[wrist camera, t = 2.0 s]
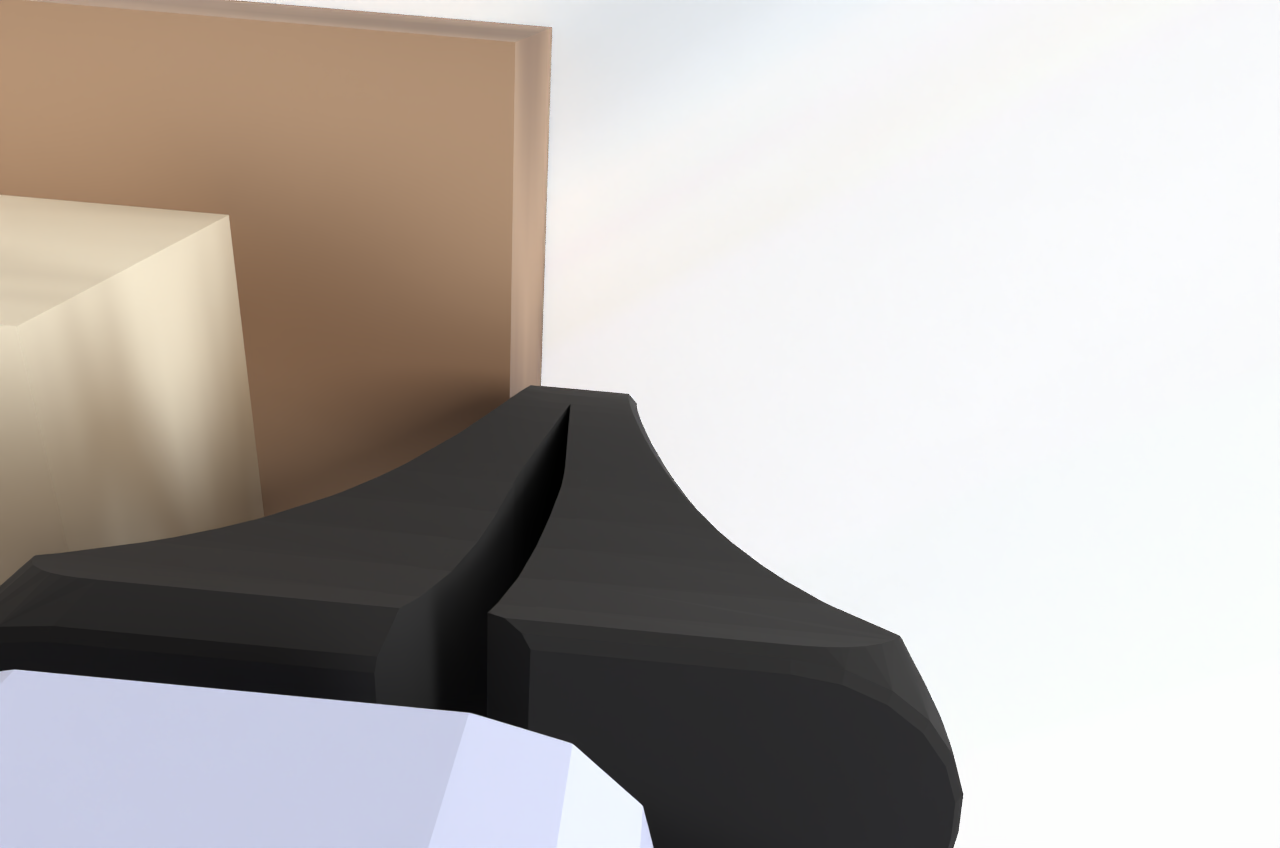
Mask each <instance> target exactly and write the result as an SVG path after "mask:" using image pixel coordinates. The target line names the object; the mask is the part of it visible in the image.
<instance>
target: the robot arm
mask: <svg viewBox="0 0 1280 848" xmlns="http://www.w3.org/2000/svg"><path fill="white" fill-rule="evenodd" d="M962 799H963V792H962V788H961V784H960V780H959V775H958V771H957V767H956V763H955V759H954V755H953V752H952V748H951V745H950V742H949V739H948V736H947V733H946V731H945V728H944V725H943V722H942V720H941V717H940V715H939V713H938V710H937V708H936V706H935V704H934V702H933V700H932V698H931V696H930V693H929V691H928V689H927V687H926V685H925V683H924V681H923V679H922V677H921V675H920V673H919V671H918V670H917V668H916V666H915V664H914V662H913V660H912V658H911V656H910V654H909V652H908V650H907V648H906V646H905V644H904V642H903V640H902V639H901V637H900V636H899V635H897V634H894V633H892V632H890V631H887V630H885V629H883V628H881V627H878V626H876V625H874V624H871V623H869V622H867V621H865V620H862V619H860V618H858V617H855V616H853V615H851V614H848V613H846V612H844V611H842V610H839V609H837V608H835V607H832V606H830V605H828V604H826V603H824V602H822V601H820V600H818V599H817V598H815V597H813V596H811V595H810V594H808V593H806V592H804V591H803V590H801V589H799V588H797V587H796V586H794V585H792V584H790V583H788V582H787V581H785V580H783V579H782V578H780V577H779V576H777V575H776V574H774V573H773V572H771V571H770V570H768V569H767V568H765V567H763V566H762V565H761V564H759V563H758V562H757V561H755V560H754V559H753V558H751V557H750V556H749V555H747V554H746V553H745V552H743V551H742V550H741V549H740V548H738V547H737V546H736V545H734V544H733V543H732V542H730V541H729V540H728V539H727V538H726V537H725V536H724V535H722V534H721V533H720V532H719V531H718V530H717V529H716V528H715V527H714V526H713V525H712V524H711V523H710V522H709V521H708V520H707V519H706V518H705V517H704V516H703V515H702V514H701V513H700V512H699V511H698V510H697V509H696V508H695V507H694V506H693V504H692V503H691V502H690V501H689V500H688V498H687V497H686V496H685V494H684V493H683V492H682V490H681V489H680V488H679V486H678V485H677V484H676V482H675V481H674V479H673V478H672V477H671V475H670V474H669V472H668V471H667V469H666V467H665V466H664V464H663V462H662V461H661V459H660V457H659V456H658V454H657V452H656V451H655V449H654V447H653V445H652V444H651V442H650V440H649V438H648V436H647V434H646V431H645V429H644V427H643V425H642V422H641V420H640V417H639V414H638V411H637V403H636V402H635V401H634V400H633V399H632V397H631V396H630V395H629V394H623V393H612V392H601V391H590V390H579V389H568V388H557V387H546V386H534V385H530V386H528V387H526V388H525V389H523V390H522V391H520V392H519V393H517V394H516V395H514V396H513V397H511V398H510V399H508V400H507V401H506V402H504V403H503V404H501V405H500V406H498V407H497V408H496V409H494V410H493V411H491V412H490V413H488V414H487V415H485V416H484V417H482V418H481V419H479V420H478V421H476V422H475V423H473V424H472V425H470V426H469V427H467V428H466V429H464V430H463V431H461V432H460V433H458V434H457V435H455V436H453V437H451V438H450V439H448V440H446V441H444V442H443V443H441V444H439V445H437V446H436V447H434V448H432V449H430V450H429V451H427V452H425V453H423V454H422V455H420V456H418V457H416V458H415V459H413V460H411V461H409V462H408V463H406V464H404V465H402V466H400V467H398V468H396V469H394V470H391V471H389V472H387V473H385V474H383V475H381V476H379V477H376V478H374V479H372V480H369V481H367V482H364V483H362V484H360V485H357V486H355V487H352V488H350V489H348V490H345V491H343V492H340V493H337V494H335V495H332V496H329V497H326V498H323V499H320V500H316V501H313V502H310V503H307V504H304V505H301V506H297V507H294V508H291V509H288V510H285V511H282V512H279V513H275V514H272V515H269V516H266V517H262V518H258V519H255V520H251V521H246V522H242V523H238V524H234V525H230V526H226V527H221V528H217V529H212V530H207V531H202V532H197V533H192V534H187V535H182V536H177V537H172V538H166V539H160V540H154V541H148V542H141V543H133V544H126V545H118V546H110V547H102V548H95V549H87V550H79V551H71V552H64V553H54V554H43V555H35V556H33V557H32V558H31V559H30V560H29V561H28V562H26V563H25V564H24V565H23V566H22V567H21V568H20V569H18V570H17V571H16V572H15V573H14V574H13V575H12V576H11V577H9V578H8V579H7V580H6V581H5V582H4V583H3V584H2V585H0V848H953V847H954V844H955V841H956V838H957V834H958V831H959V823H960V815H961V807H962Z"/></svg>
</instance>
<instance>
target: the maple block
mask: <svg viewBox="0 0 1280 848" xmlns="http://www.w3.org/2000/svg"><path fill="white" fill-rule="evenodd" d="M262 517H264V510H263V501H262V493H261V484H260V476H259V467H258V459H257V450H256V442H255V433H254V425H253V417H252V408H251V400H250V391H249V383H248V374H247V366H246V357H245V349H244V340H243V332H242V323H241V315H240V306H239V298H238V289H237V281H236V272H235V264H234V255H233V247H232V238H231V230H230V221H229V215H224V214H212V213H201V212H190V211H178V210H167V209H156V208H144V207H133V206H121V205H110V204H99V203H87V202H76V201H65V200H53V199H42V198H31V197H19V196H8V195H0V585H2V584H3V583H4V582H5V581H6V580H7V579H8V578H9V577H11V576H12V575H13V574H14V573H15V572H16V571H17V570H18V569H20V568H21V567H22V566H23V565H24V564H25V563H26V562H28V561H29V560H30V559H31V558H32V557H33V556H35V555H43V554H54V553H64V552H71V551H79V550H87V549H95V548H102V547H110V546H118V545H126V544H133V543H141V542H148V541H154V540H160V539H166V538H172V537H177V536H182V535H187V534H192V533H197V532H202V531H207V530H212V529H217V528H221V527H226V526H230V525H234V524H238V523H242V522H246V521H251V520H255V519H258V518H262Z"/></svg>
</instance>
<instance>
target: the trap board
mask: <svg viewBox="0 0 1280 848" xmlns="http://www.w3.org/2000/svg"><path fill="white" fill-rule="evenodd" d="M551 43H552V27H542V26H530V25H518V24H506V23H495V22H483V21H471V20H459V19H447V18H436V17H424V16H412V15H400V14H388V13H377V12H365V11H353V10H341V9H330V8H318V7H306V6H294V5H282V4H271V3H259V2H247V1H235V0H0V195H8V196H19V197H31V198H42V199H53V200H65V201H76V202H87V203H99V204H110V205H121V206H133V207H144V208H156V209H167V210H178V211H190V212H201V213H212V214H224V215H229V221H230V230H231V238H232V247H233V255H234V264H235V272H236V281H237V289H238V298H239V306H240V315H241V323H242V332H243V340H244V349H245V357H246V366H247V374H248V383H249V391H250V400H251V408H252V417H253V425H254V433H255V442H256V450H257V459H258V467H259V476H260V484H261V493H262V501H263V510H264V517H266V516H269V515H272V514H275V513H279V512H282V511H285V510H288V509H291V508H294V507H297V506H301V505H304V504H307V503H310V502H313V501H316V500H320V499H323V498H326V497H329V496H332V495H335V494H337V493H340V492H343V491H345V490H348V489H350V488H352V487H355V486H357V485H360V484H362V483H364V482H367V481H369V480H372V479H374V478H376V477H379V476H381V475H383V474H385V473H387V472H389V471H391V470H394V469H396V468H398V467H400V466H402V465H404V464H406V463H408V462H409V461H411V460H413V459H415V458H416V457H418V456H420V455H422V454H423V453H425V452H427V451H429V450H430V449H432V448H434V447H436V446H437V445H439V444H441V443H443V442H444V441H446V440H448V439H450V438H451V437H453V436H455V435H457V434H458V433H460V432H461V431H463V430H464V429H466V428H467V427H469V426H470V425H472V424H473V423H475V422H476V421H478V420H479V419H481V418H482V417H484V416H485V415H487V414H488V413H490V412H491V411H493V410H494V409H496V408H497V407H498V406H500V405H501V404H503V403H504V402H506V401H507V400H508V399H510V398H511V397H513V396H514V395H516V394H517V393H519V392H520V391H522V390H523V389H525V388H526V387H528V386H530V385H534V386H541V362H542V330H543V298H544V266H545V234H546V202H547V171H548V139H549V107H550V75H551Z"/></svg>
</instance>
